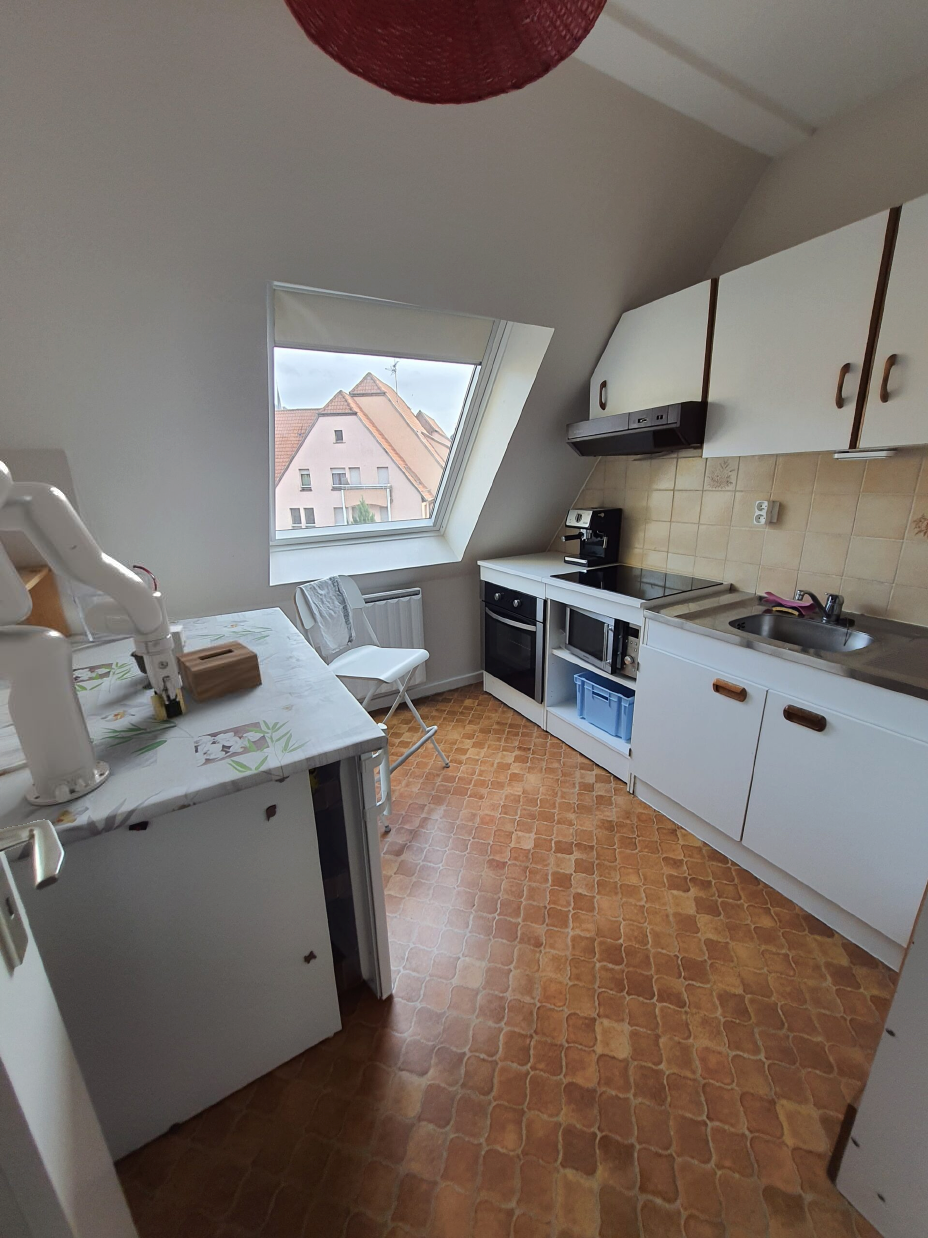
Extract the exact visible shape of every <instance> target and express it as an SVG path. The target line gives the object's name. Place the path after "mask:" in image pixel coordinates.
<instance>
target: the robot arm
mask: <svg viewBox="0 0 928 1238" xmlns="http://www.w3.org/2000/svg"><path fill="white" fill-rule="evenodd" d="M0 531H22V532H23V533H24V535H26V537H27V539H29V541H30V542H31V543H32V544H33V546H34V547H35V548H36V550H37V551H38V552H39V554H40V555H41V557H42V558H43V559H44V561H46V563H47V564H48V565H49V567H50V569H51V570H52V571H53V572H54V573H55V574H58V575H59V576H61V577H64V578H65V579H68V580H69V581H72V582H76V583H78V584H81V585H84V586H87V587H89V588H93V589H94V590H98V591H99V592H101V593H103V594H105V595H106V596H108V597H110V599H109V598H108V599H103V600H99V601H96V602H94V603H93V604H90V606H88V608H86V610H85V612H84V617H83V621H84V625H85V626H86V628H87V629H89V631H91V632H93V633H95V634H99V635H104V636H132V639H133V644H134V648H135V650H136V653H137V655H141V656H143V657H144V662H145V666H146V670H147V674H148V675H147V678H148V677H149V680H150V683H151V685H152V686H153V693H154V695H157V694H161V695H162V696H163V699H164V701H165V703H164V707H165V712H166V716H167V718H168V719H167V720H171V719H174V718H178V717H180V716H183V715H184V714H183V713H182V708H181V704H180V700H179V697H178V695H177V692H176V689H180V690H181V689H182V687H183V685H182V682H181V678H180V677H179V675H180V674H179V672H177V668H176V664H175V661H174V658H173V655H172V652H171V649H173V648H174V644H173V639H172V635H171V630H170V622H169V617H168V612H167V608H166V603H165V600H164V596H163V594H162V593H161V592H160V591H157V590H150V588H149V586H148V585H147V584H146V583H145V581H144V580H142V579H141V578H140V577H139V576H138V575H136V574H135V573H134V572H133V571H131V570H130V569H129V568H127V567H126V566H124V565H123V564H121V563H120V562H118V561H117V560H116V559H114V558H113V557H111V556H109V555H108V554H106V553H104V552H103V550H102V549H101V548H100V546H99V545H98V543H97V542H96V541H95V539H94V537H93V536H92V535H91V532H89V530H88V529H87V527H86V525H85V524H84V523H83V521H82V519H81V518H80V516H79V515H78V513H77V511H76V510H75V508H73V506H72V504H71V503H70V501H69V499H68V498H67V497H66V495H65V494H64V493H63V492H62V491H61V490H60V489H58V487H56V486H54V485H52V484H50V483H45V482H39V481H13V477H12V474H11V472H10V469H9V468H8V466H7V465H6V464H5V463H4V462H3V461H2V460H0ZM32 609H33V601H32V597H31V595H30V592H29V590H28V588H27V586H26V584H25V583H24V581H23V580H22V578H21V576H20V574H19V573H18V571H17V569H16V567H15V566H14V564H13V563H12V561H11V559H10V557H9V555H8V554H7V552H6V550H5V548H4V546H3V543H2V542H1V540H0V681H8V682H10V690H9V695H8V699H7V707H8V708H7V709H8V713H9V716H10V719H11V721H12V725H13V727H14V730H15V732H16V736H17V739H18V741H19V744H20V747H21V750H22V753H23V756H24V758H25V762H26V765H27V767H28V770H29V773H30V776H31V779H32V783H31V784H30V785H29V786H28V788H27V789H26V791H25V798H26V800H27V802H28V803H29V804H31V805H34V806H52V805H58V804H61V803H65V802H70V801H72V800H74V799H76V798H80V797H82V796H84V795H86V794H88V793H90V792H92V791H93V790H96V789H97V788H98V787H101V785H102V784H103V783H105V782H106V781H107V779H109V777H110V774H111V768H110V764H108V763H107V762H106V761H102V760H97V759H98V757H97V756H96V753H95V749H94V746H93V742H92V739H91V736H90V732H89V728H88V725H87V721H86V719H85V715H84V711H83V707H82V704H81V702H80V698H79V694H78V691H77V688H76V683H75V679H74V669H73V662H74V661H73V648H72V646H71V643H70V641H69V639H68V638H67V637H66V636H65V635H64V634H62V633H61V632H60V631H58V630H56V629H52V628H50V627H46V626H41V625H40V626H38V625H19V624H18V623H21V622H22V621H24V620H25V619H27V618H28V617H29V616H30V615H31V613H32ZM17 624H18V625H17ZM149 680H148V681H149ZM166 694H169V695H167V697H166Z"/></svg>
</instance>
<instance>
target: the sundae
mask: <svg viewBox="0 0 928 1238" xmlns="http://www.w3.org/2000/svg"><path fill="white" fill-rule="evenodd" d="M129 655H130V657H131V658H133V659H134V661H135V663H136V665H137V667H138V669H139V671H140V673H142V674H143V675H147V679H148V682H147V683H145V684H143V685H142V686H141V687H142V689H143V690H152V689H153V690H154V688H153V686H152V685H151V683H150V680H149V677H148V674H147V670H146V666H145V662H144V657H143V656H141V655H137V653H136V649H135V650H134V651H132V652H131V653H130V654H129Z"/></svg>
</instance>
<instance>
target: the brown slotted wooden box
mask: <svg viewBox="0 0 928 1238" xmlns="http://www.w3.org/2000/svg"><path fill="white" fill-rule="evenodd" d="M176 658H177V663H178V667H179V672H178V673H179V675H180V682H181V686H182V687H184V689H185V690H186V691H188V693H190V695H191V696H192V697H193V698H194V699H195V700H196V702H198V703H199V704H202V703H205V702H209V701H211V700H215V699H218V698H221V697H225V696H227V695H228V696H229V695H231V694H235V693H238V692H241V691H244V690H247V689H251V688H253V687H256V686H260V685H262V684H263V682H262V677H261V676H262V675H261V670H260V665H259V657H258V653H256V652H255V651H253V650H252V649H250V648H248V647H247V646H245V645H244V644H243V643H241V642H240V641H237V640H233V641H228V642H224V643H220V644H216V645H211V646H208V647H204V648H200V649H195V650H192V651H188V652H187V653H183V654H178V655H176Z"/></svg>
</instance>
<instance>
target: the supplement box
mask: <svg viewBox="0 0 928 1238" xmlns="http://www.w3.org/2000/svg"><path fill="white" fill-rule="evenodd" d="M169 626H170V625H169ZM170 630H171V635H172V639H173V644H174V648H173V649H171V652H172V655H173V658H174V661H175V664H176V668H177V672H178V673H180V672H179V667H178V663H177V658H176V655H178V654H183V653H187V652H189V649H188V643H187V638H186V635H185V630H184V626H183V624H178V625H172V626H170Z"/></svg>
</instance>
